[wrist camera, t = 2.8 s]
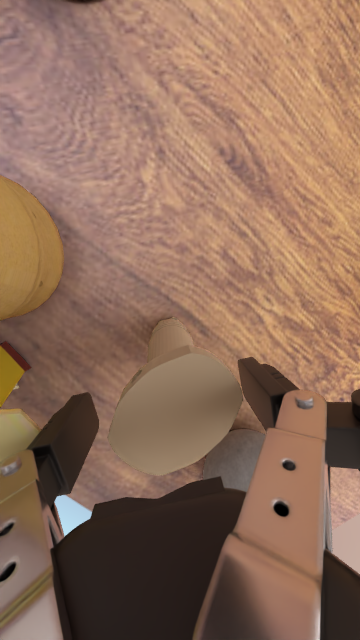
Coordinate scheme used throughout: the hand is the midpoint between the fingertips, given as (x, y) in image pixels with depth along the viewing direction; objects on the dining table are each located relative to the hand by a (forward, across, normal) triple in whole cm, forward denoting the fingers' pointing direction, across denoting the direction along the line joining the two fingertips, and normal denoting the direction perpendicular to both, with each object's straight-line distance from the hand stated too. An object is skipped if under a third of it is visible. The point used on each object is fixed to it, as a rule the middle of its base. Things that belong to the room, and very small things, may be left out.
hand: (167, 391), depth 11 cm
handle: (+13, 0, 0) cm, 13 cm away
